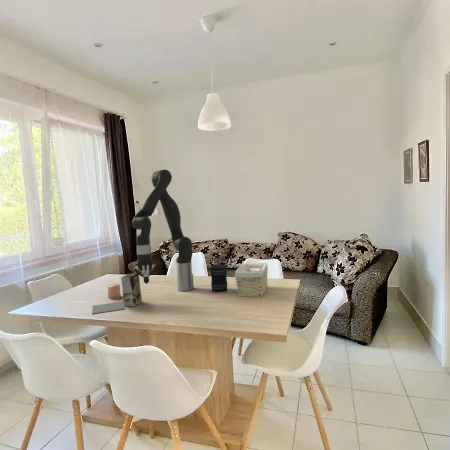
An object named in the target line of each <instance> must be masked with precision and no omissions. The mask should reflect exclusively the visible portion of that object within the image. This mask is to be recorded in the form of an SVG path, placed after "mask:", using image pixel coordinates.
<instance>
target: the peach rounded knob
mask: <svg viewBox="0 0 450 450" xmlns="http://www.w3.org/2000/svg"><path fill="white" fill-rule="evenodd" d="M106 288H107V297H108V299H110V300H112V299H113V300H114V299H119V298H121V296H122V295H121V285H120V284H118V283H113V284H109V285H107V287H106Z"/></svg>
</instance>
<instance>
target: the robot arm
mask: <svg viewBox="0 0 450 450" xmlns="http://www.w3.org/2000/svg"><path fill="white" fill-rule="evenodd" d="M172 177H173V176H172V173H171V171H170V170H169V169H161V170H156V171H154V172H153V173H152V174H151V176H150V178H151V183H152V185H153V189H152V191H151V192H150V193H149V194H148V195H147V197H146V198H145V200H144V202H143V204H142V206H141V208H140V209H139V210H138V211H137V213H136V214H135V216H134V217H133V219H132V220H131V221H132V222H131V226H132V228H133V229H135V230H140V233H139V234H137V235H136V237H135V240H136V256H137V263H136V266H135V267H133V271H135V273H138V274H139V277H142V278H143V284H145V285H147V284H149V283H150V276H152V275H153V273H155V270H156V269H157V267H158V266H157V265H156V264H154V263H153V260H152V250H151V248H152V247H151V243H150V242H151V240H150V235H151V229H152V221H151V219H150V217H151V216H153V214H154V212H155V210H156V207H157V205H158V203H159V202H160V205H161V207H162V213H163V214H164V218H165V220H166V222H167V223H166V224H167V226H168V229H169V232H170V236H171V240H172V245H173V247H174V248H175V249H176V251H178V256H177V257H176V262H175V263H176V277H177V290H178V291H179V292H189V291H191V290H194V289H195V286H194V273H193V269H192V267H193V266H192V258H193V243H192V240H191V239H190V237H188V236H184V233H183V231H182V226H181V223H182V222H181V219H182V216H181V212H180V209H179V206H178V203H177V202H176V201H175V200H174V199H173V198H172V197H171V195H170V194H169V193H168V190H167V188H168V187H169V185H170V184H171V182H172ZM139 270H140V271H139Z"/></svg>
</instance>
